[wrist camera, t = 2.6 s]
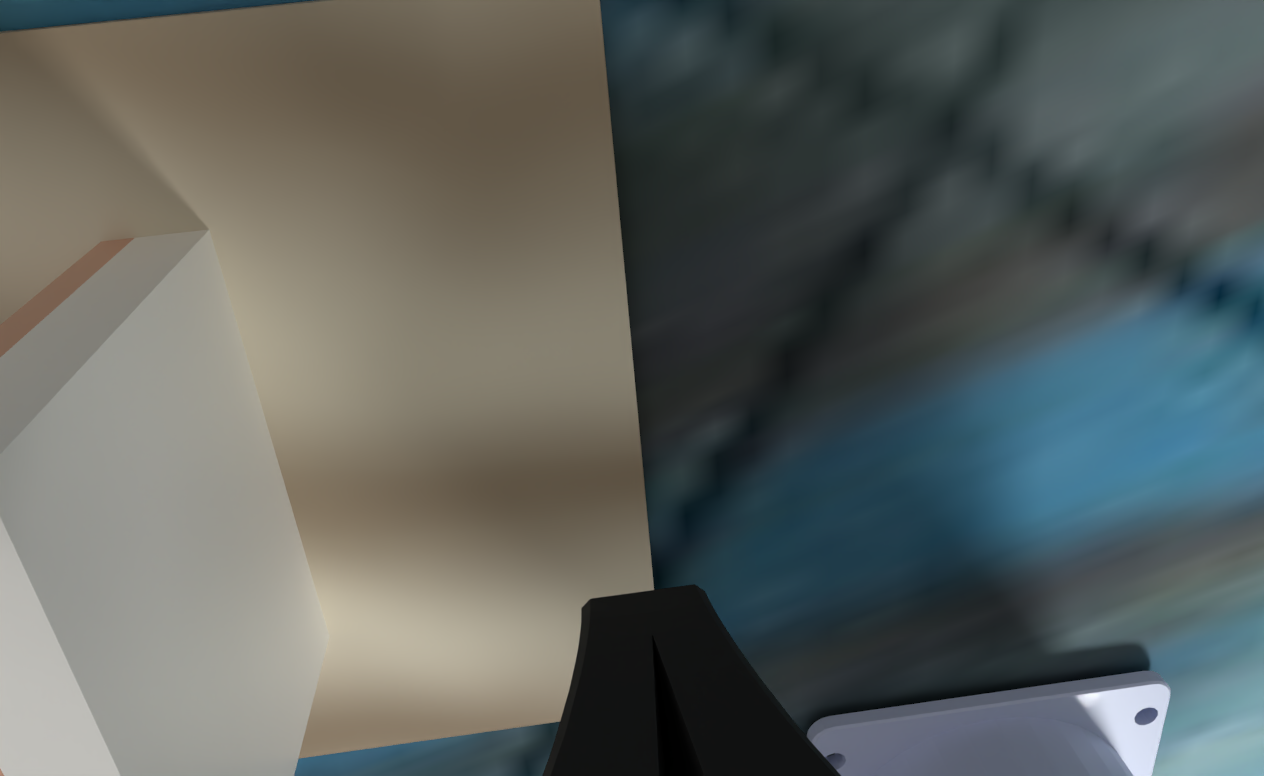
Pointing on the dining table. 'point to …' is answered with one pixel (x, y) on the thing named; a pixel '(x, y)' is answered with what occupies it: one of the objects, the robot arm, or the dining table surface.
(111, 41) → the mat
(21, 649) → the tile
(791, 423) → the dining table surface
